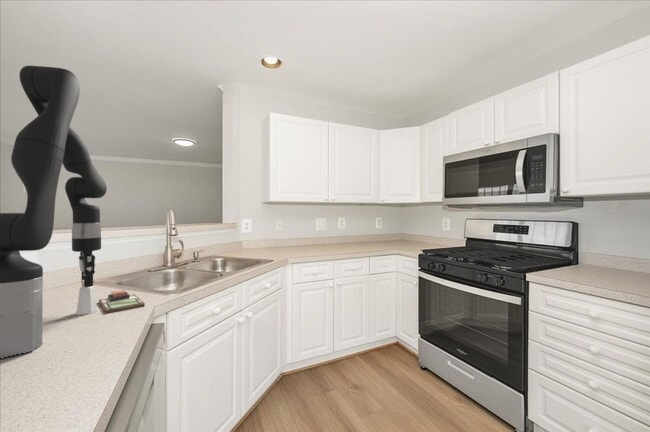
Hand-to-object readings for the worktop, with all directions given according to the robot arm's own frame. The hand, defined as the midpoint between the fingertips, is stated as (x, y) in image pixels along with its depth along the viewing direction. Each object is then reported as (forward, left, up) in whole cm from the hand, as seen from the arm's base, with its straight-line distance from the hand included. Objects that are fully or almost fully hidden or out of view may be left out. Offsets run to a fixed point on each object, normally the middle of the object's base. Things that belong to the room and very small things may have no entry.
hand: (87, 284), depth 94 cm
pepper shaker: (0, 0, -10) cm, 10 cm away
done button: (+7, -10, -7) cm, 14 cm away
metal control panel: (+2, -10, -9) cm, 14 cm away
